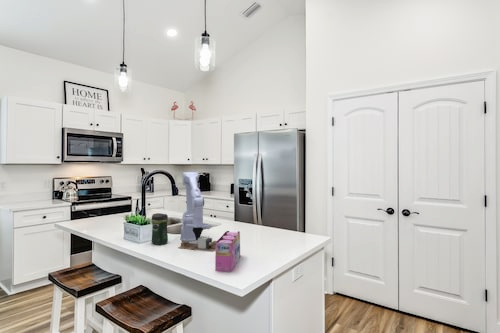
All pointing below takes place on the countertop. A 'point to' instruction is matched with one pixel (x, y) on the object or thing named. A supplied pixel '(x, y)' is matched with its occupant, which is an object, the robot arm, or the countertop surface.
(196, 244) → the pipe
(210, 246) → the nut
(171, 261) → the countertop surface
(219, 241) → the gum box
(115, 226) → the countertop surface
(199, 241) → the sleeve
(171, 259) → the countertop surface
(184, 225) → the robot arm
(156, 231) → the coffee jar
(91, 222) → the countertop surface
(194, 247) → the pipe stand
